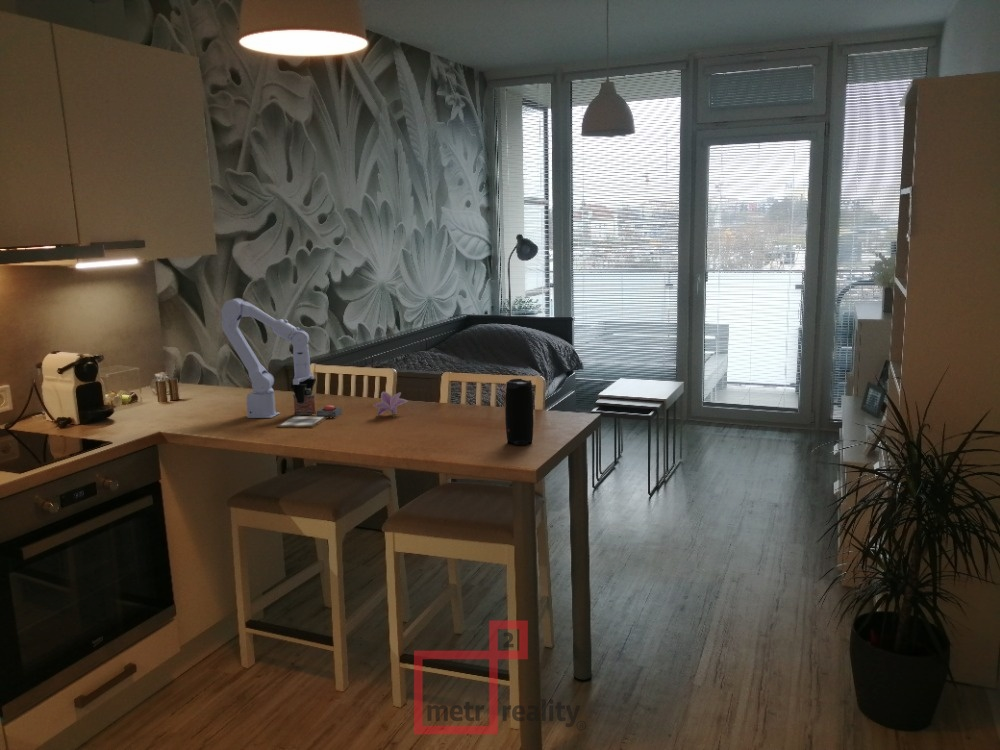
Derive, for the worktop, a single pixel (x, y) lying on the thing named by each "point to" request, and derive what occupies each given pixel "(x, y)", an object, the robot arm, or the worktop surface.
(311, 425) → the board
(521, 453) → the worktop surface
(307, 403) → the lighter
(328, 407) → the button
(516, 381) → the portable speaker
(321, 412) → the button housing
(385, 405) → the lily
